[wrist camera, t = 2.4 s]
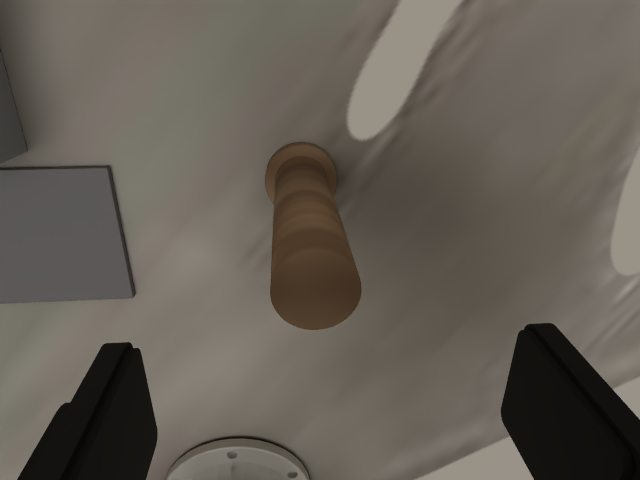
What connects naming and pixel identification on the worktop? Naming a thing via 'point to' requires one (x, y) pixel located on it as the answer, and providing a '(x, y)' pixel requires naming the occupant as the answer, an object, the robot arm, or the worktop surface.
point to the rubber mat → (61, 236)
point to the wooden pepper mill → (309, 241)
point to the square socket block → (9, 121)
